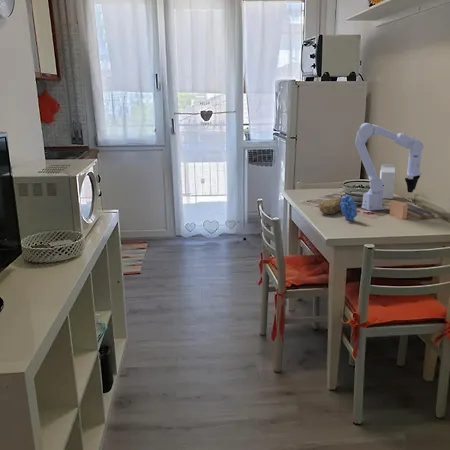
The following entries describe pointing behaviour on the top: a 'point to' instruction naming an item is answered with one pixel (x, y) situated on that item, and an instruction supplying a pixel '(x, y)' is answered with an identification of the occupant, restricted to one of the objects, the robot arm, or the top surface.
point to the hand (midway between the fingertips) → (411, 190)
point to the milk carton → (387, 179)
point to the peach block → (398, 209)
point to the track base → (419, 212)
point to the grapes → (348, 207)
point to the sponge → (330, 206)
